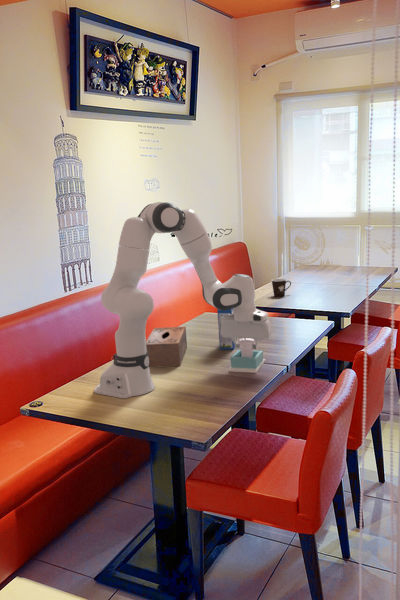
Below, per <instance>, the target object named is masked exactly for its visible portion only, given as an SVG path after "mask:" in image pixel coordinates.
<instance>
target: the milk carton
mask: <svg viewBox="0 0 400 600" xmlns="http://www.w3.org/2000/svg"><path fill="white" fill-rule="evenodd" d="M216 309H217V308H216ZM223 314H233V308H232V309H229V310H219V309H217V325H218V326H217V327H218V341H219V350H220V351H234V350H235V349H236V348H235V344H234V342H233V341H232V337H222V336H221V323H220V317H221V316H222V315H223ZM222 317H223V316H222ZM237 339H238V338H237ZM237 339H236V340H237Z"/></svg>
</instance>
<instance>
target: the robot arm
mask: <svg viewBox="0 0 400 600" xmlns="http://www.w3.org/2000/svg"><path fill="white" fill-rule="evenodd" d="M120 232H121V233H120V237H119V241H118V248H117V256H116V262H115V266H114V267H115V268H114V270H113V273H112V276H111V279H110V281H109V283H108V285H107V286H106V287H104V288H105V289H103V291H102V293H101V297H100V300H101V304H102V306H103V308H105V309H106V310H107V311H109V312H110V313H111V314H115V315H118V318H119V324H118V329H117V330H116V331H115V334H114V340H115V341H114V342H115V349H116V350H115V351H116V353H114V354H113V355H112V356H111V357H110V360H111V361H112V360H113V362H112V364H111V365H110V366H108V368H106V369H105V370H103V372H102V373H101V375H100V377H99V384H98V385H96V386H95V388H94V390H93V391H94V394H98V395H102V396H103V395H104V396H110V397H114V398H118V399H127V398H128V399H129V398H131V397H136V396H141V395H145V394H148V393H150V392H151V391H153V390H155V383H154V382H153V381H154V380H153V379H152V375H151V370H150V367H149V356H148V351H147V348H146V340H147V335H146V329H147V322H148V318H149V317H150V315H151V314H152V312H153V311H154V306H155V303H154V299H153V297H152V296H151V294H150V293H148V292H146V291H145V290H144V289H141V288H138V285H139V282H140V280H141V278H142V277H143V276H144V275H145V274H146V272H147V270H148V263H149V262H148V261H149V255H150V249H151V247H150V246H151V242H152V241H151V240H152V238H153V237H154V234H166V233H167V234H168V233H169V234H170V233H173V234H174V235H175V237H176V238H177V240H178V242H179V244H180V247H181V249H182V251H183V252H184V254H185V255H186V257H187V258H188V259H189V261H190V262H191V263H192V265H193V267H194V269H195V271H196V274H197V276H198V278H199V281H200V283H201V288H202V289H201V291H202V297H203V300H204V301H205V302H206V304H208V306H209V305H210V306H212V307H214V308H215V309H219V310H229V309H232V308H233V314H223V315H222V316H223V317H222V316H221V317H220V323H221V336H222V337H232V341H233V342H234V344H235V348H234V349H240V344H239V341H237V340H236V339H243V338H251V339H255V341H256V342H255V343H254V345H253V350H258V348H259V344H260V341H261V339H265V340H267V339H268V340H269V339H270V338H271V336H272V325H271V321H270V320H269V319H268V317H269V315H268V313H269V312H267V311H264V310H261V309H258V308H257V307H256V303H255V298H256V297H255V296H256V291H255V283H254V280H253V278H252V277H251V276H250V275H248V274H243V273H242V274H241V273H235V274H233V275H232V276H231V277H230V278H229V279H227V280H226V281H225V282H221V280H219V279H218V278H217V276H216V274H215V271H214V268H213V266H212V264H211V261H210V255H211V253H212V251H213V246H212V242H211V239H210V235H209V233H208V231H207V230H206V228H205V226H204V224H203V222H202V220H201V219H200V218H199V216H198V215H197V213H196V212H195V210H193V209H189V208H185V209H180V208H179V207H178V206H176V205H175V204H173V203H171V202H166V201H165V202H160V201H159V202H154V203H149V204H147V205H146V206H144V207H143V209H142V210H141V211H140V213H139V214H138V216H132V217H129V218H127V219H126V220H124V223H123V226H122V229H121V231H120Z"/></svg>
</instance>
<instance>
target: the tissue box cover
mask: <svg viewBox="0 0 400 600" xmlns="http://www.w3.org/2000/svg"><path fill="white" fill-rule="evenodd" d="M187 340H188V339H187V329H186V326H169V327H153V329H152V331H151V333H150V334H149V335H148V337H147V338H146V348H147V351H148V356H149V368H161V367H162V368H163V367H164V366H165V367H181V365H182V362H183V360H184V357H185V354H186V351H187V349H188V341H187Z"/></svg>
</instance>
